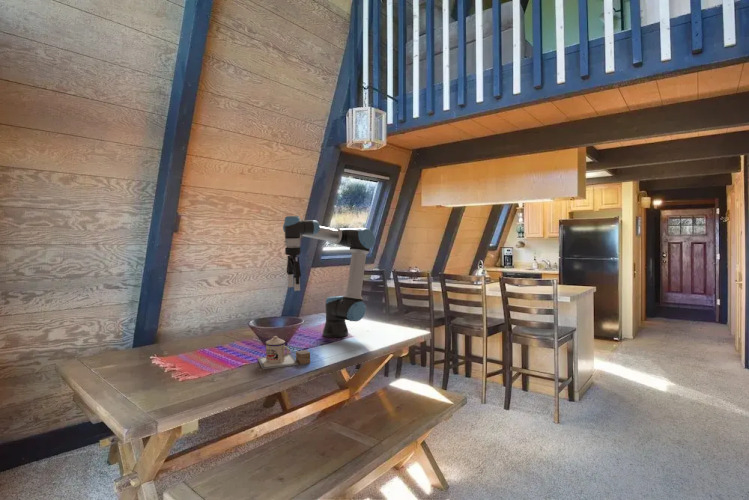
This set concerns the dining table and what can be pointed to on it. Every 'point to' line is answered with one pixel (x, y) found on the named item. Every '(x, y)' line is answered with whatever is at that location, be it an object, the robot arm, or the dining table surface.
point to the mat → (287, 362)
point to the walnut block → (303, 357)
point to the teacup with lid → (276, 350)
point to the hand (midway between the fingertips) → (293, 288)
